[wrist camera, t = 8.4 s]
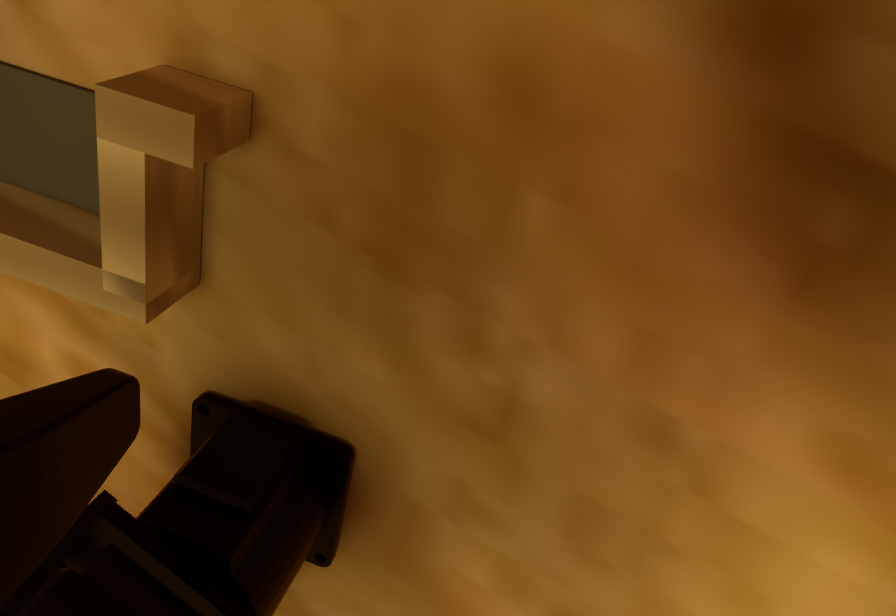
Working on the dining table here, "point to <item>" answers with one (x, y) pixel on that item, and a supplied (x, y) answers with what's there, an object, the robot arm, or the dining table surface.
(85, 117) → the mat
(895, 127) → the dining table surface
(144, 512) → the robot arm
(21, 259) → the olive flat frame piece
